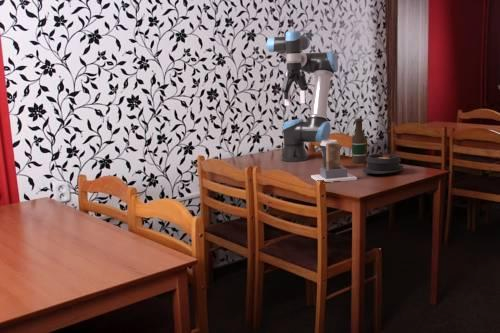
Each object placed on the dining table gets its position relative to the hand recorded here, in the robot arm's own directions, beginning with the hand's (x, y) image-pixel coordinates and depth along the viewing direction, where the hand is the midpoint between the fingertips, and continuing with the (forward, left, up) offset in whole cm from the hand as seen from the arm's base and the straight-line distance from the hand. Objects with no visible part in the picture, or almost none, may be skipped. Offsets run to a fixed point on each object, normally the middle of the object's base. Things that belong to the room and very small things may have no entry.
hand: (295, 104), depth 279 cm
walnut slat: (+8, +27, -34) cm, 44 cm away
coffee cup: (-11, +13, -35) cm, 39 cm away
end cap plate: (+8, +27, -35) cm, 45 cm away
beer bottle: (-33, +18, -35) cm, 51 cm away
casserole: (-16, +41, -35) cm, 56 cm away
